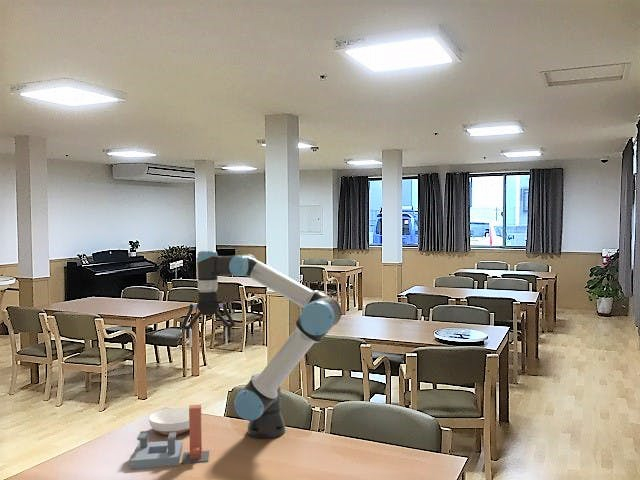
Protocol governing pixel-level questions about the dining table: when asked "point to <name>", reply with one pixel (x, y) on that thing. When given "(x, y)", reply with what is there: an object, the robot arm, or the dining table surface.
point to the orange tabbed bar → (195, 431)
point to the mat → (187, 459)
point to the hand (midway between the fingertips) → (208, 345)
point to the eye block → (156, 452)
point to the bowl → (170, 421)
